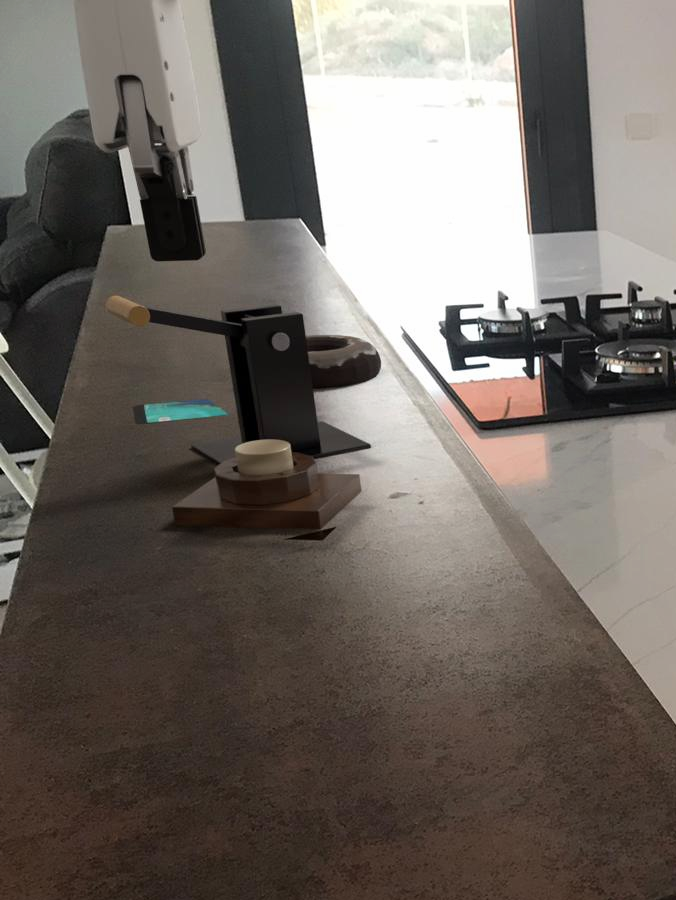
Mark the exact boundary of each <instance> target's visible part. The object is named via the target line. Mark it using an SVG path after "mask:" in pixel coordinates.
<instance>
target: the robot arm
mask: <svg viewBox="0 0 676 900" xmlns="http://www.w3.org/2000/svg"><path fill="white" fill-rule="evenodd" d="M73 7H74V17H75V25H76V33H77V41H78V42H77V43H78V48H79V55H80V61H81V68H82V74H83V80H84V88H85V94H86V101H87V106H88V112H89V118H90V124H91V130H92V135H93V141H94V143H95V145H96V146H97V147H98V148H99V150H101V151H103V152H104V153H107V154H108V153H111V154H113V153H115V152H119V151H121V150H124V149H127V148H128V152H129V156H130V161H131V165H132V169H133V174H134V179H135V183H136V187H137V191H138V195H139V198H140V199H139V204H140V208H141V213H142V214H141V215H142V218H143V223H144V229H145V235H146V239H147V244H148V249H149V254H150V258H151V260H153V261H155V262H187V261H194V262H195V261H199V260H201V259H202V258H203V257H204V256H205V255H206V253H207V250H206V244H205V238H204V233H203V227H202V221H201V216H200V210H199V205H198V199H197V196H196V195H194V194H195V187H194V186H195V185H194V181H193V180H194V179H193V174H192V173H193V172H192V166H191V160H190V152H189V147H190V146H192V145H194V143H196V142H197V141H198V140H199V139H200V138H201V136H202V123H201V113H200V106H199V100H198V91H197V87H196V81H195V80H196V79H195V75H194V68H193V63H192V58H191V52H190V47H189V42H188V36H187V32H186V27H185V18H184V15H183V12H182V7H181V2H180V0H73Z"/></svg>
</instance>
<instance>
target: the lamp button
mask: <svg viewBox="0 0 676 900" xmlns="http://www.w3.org/2000/svg"><path fill="white" fill-rule="evenodd" d="M235 455H236V461H237V467H238V473H241V474H244V475H264V474H272V473H280V472H283V471H286V470H290V469H292V468H293V467H294V466H293V459H292V452H291V445H290V444H289V443H288V442H286V441H282V440H273V439H268V440H256V441H251V442H246V443H243V444H241V445H239V446H237V447H236V448H235Z"/></svg>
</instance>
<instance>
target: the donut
mask: <svg viewBox="0 0 676 900" xmlns="http://www.w3.org/2000/svg"><path fill="white" fill-rule="evenodd" d="M306 342H307V349H308V356H309V364H310V371H311V378H312V385H313V390H322V389H333V388H343V387H347V386H353V385H357V384H362V383H364V382H368V381H370V380H372V379H374V378H376V377H377V376H378V375H379V374H380V371H381V369H382V360H381V355H380V353H379V351H378V349H376V347H375V346H374V345H373V344H371V342H369V341H367V340H364V339H362V338H360V337H355V336H351V335H341V334H313V335H306Z"/></svg>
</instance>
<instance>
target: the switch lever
mask: <svg viewBox="0 0 676 900" xmlns="http://www.w3.org/2000/svg"><path fill="white" fill-rule="evenodd" d="M105 309H106V310H107V312H108V313H109V314H111V315H113V316H114V317H117V318H118V319H121V320H123V321H125V322H127V323H129V324H131V325H134V326H136V327H143V326H146V325H147V324H148V323H151V324H157V325H164V326H168V327H173V328H180V329H186V330H192V331H198V332H204V333H207V334H213V335H220V336H224V337H225V336H231V337H237V338H240V344H239V345H241V346H243V347H245V342H244V335H243V329H242V324H239V323H234V322H228V321H223V320H222V319H217V318H212V317H206V316H200V315H196V314H190V313H189V314H188V313H183V312H179V311H173V310H169V309H162V308H157V307H151V306H146V305H141V304H138V303H136V302H133V301H131V300H129V299H126V298H124V297H123V296H120V295H112V296H110V297H109V298H107V300H106V302H105ZM251 317H254V316H249V315H244V318H251Z"/></svg>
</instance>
